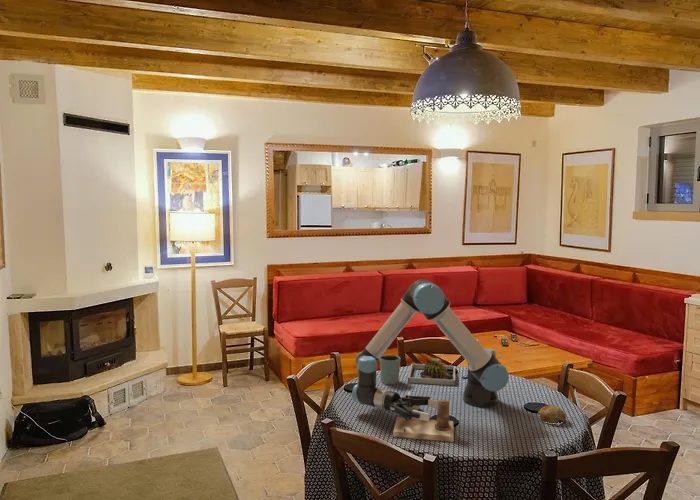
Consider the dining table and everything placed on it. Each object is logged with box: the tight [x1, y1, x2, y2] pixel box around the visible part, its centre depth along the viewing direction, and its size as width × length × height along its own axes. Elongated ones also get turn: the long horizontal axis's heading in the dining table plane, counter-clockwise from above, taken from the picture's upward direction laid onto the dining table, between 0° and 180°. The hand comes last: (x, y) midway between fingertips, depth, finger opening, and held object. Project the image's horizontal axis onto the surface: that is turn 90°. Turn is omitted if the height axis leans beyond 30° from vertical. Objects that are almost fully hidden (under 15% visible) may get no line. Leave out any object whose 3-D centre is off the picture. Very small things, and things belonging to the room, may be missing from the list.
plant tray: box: [407, 363, 456, 386], centre depth 275 cm, size 23×24×2 cm
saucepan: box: [407, 390, 420, 411], centre depth 234 cm, size 11×18×4 cm, turn 168°
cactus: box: [419, 357, 453, 380], centre depth 274 cm, size 17×16×10 cm
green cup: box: [379, 354, 401, 386], centre depth 266 cm, size 10×10×12 cm
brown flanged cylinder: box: [435, 399, 451, 431], centre depth 207 cm, size 6×6×10 cm
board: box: [393, 416, 455, 443], centre depth 209 cm, size 22×14×2 cm, turn 80°
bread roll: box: [537, 404, 567, 423], centre depth 220 cm, size 10×10×8 cm
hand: (436, 411), depth 208 cm, fingers open, 13 cm apart
